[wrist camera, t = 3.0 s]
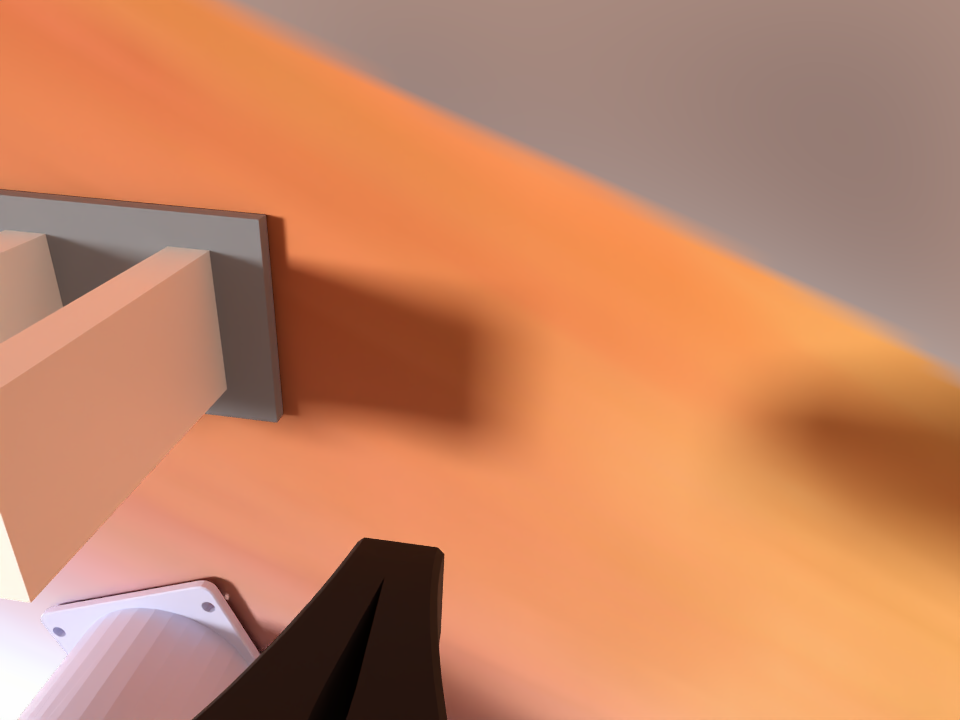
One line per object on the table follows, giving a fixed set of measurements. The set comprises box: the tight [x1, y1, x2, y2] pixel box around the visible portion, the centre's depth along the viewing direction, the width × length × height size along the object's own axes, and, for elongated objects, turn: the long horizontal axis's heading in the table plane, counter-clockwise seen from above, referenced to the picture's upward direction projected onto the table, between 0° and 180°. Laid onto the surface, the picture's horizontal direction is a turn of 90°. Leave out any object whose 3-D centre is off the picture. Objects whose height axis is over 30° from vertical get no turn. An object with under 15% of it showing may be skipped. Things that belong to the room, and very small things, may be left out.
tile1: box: [0, 246, 227, 603], centre depth 16 cm, size 1×4×8 cm, turn 177°
